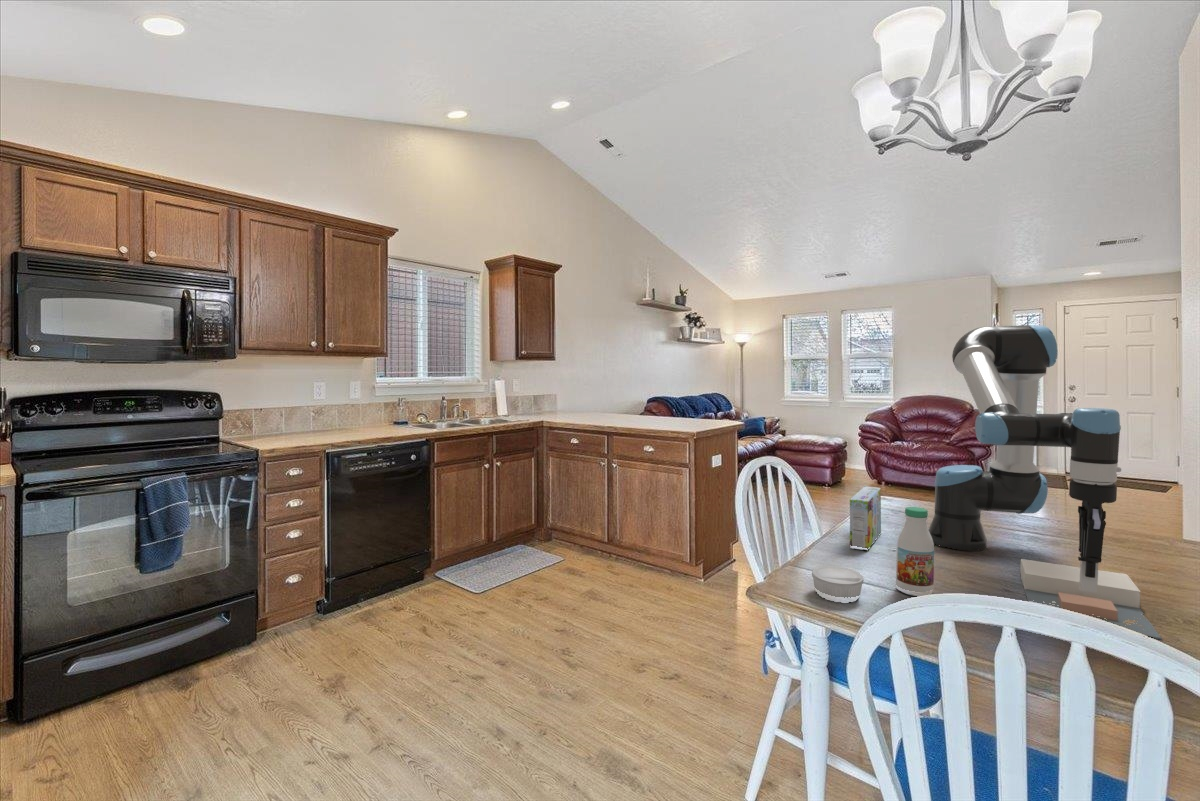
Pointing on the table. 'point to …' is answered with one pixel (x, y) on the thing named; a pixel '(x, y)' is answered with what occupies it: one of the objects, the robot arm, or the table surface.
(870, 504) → the snack box
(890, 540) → the table surface
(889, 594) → the table surface
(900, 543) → the milk bottle
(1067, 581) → the plate
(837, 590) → the ramekin
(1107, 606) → the tile
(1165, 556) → the table surface
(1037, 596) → the mat
